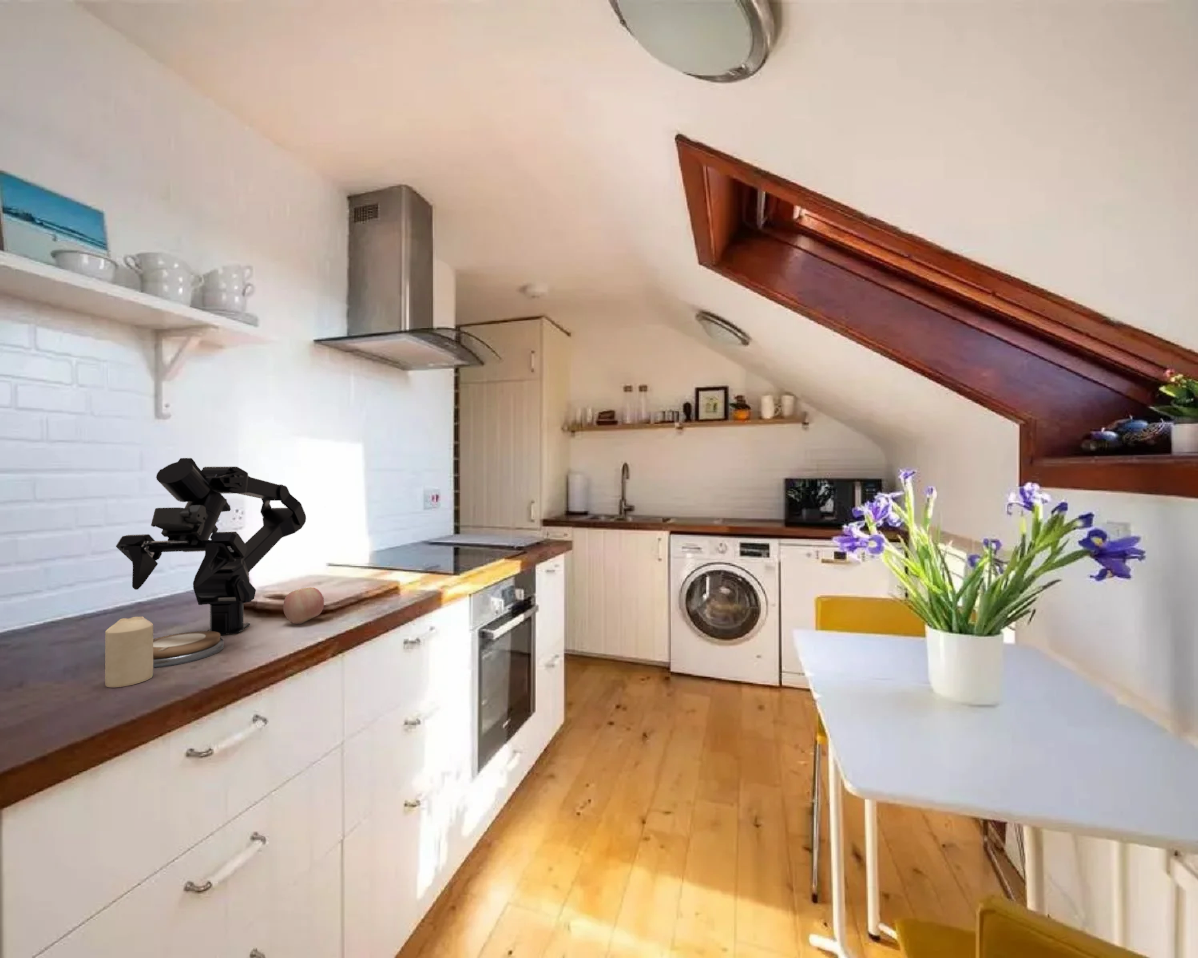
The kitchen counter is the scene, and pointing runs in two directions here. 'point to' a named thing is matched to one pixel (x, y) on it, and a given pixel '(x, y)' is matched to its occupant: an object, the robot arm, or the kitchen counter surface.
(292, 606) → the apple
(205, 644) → the turntable
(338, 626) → the kitchen counter surface
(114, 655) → the candle
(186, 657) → the turntable base
